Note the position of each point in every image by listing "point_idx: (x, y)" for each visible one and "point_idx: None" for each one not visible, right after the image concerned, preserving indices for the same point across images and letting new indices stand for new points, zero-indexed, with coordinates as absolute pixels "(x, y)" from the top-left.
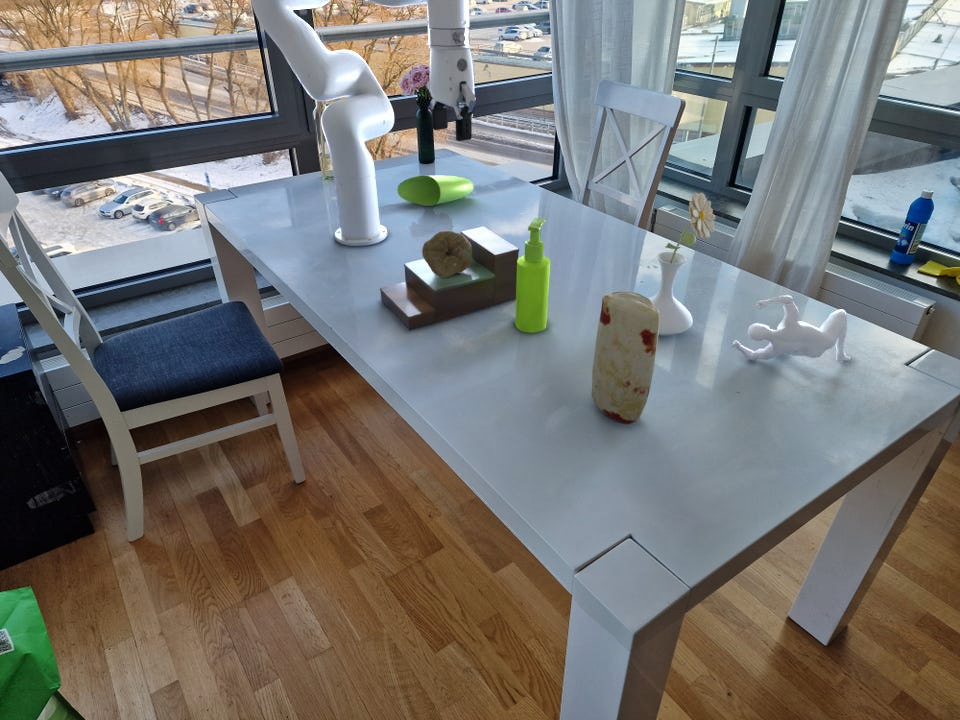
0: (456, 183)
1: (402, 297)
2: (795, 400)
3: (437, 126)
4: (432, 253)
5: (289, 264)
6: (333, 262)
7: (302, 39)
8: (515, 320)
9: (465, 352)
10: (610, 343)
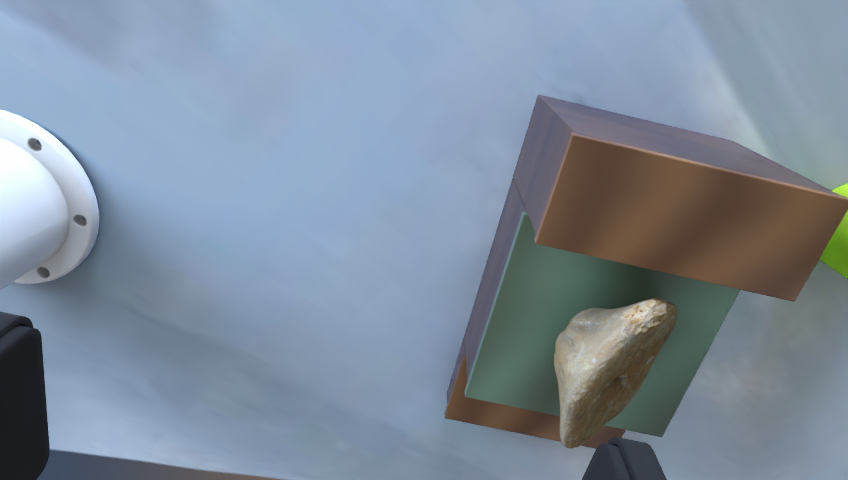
0: None
1: (528, 411)
2: None
3: (24, 464)
4: (595, 422)
5: (108, 427)
6: (159, 353)
7: None
8: (820, 259)
9: (768, 401)
10: None
